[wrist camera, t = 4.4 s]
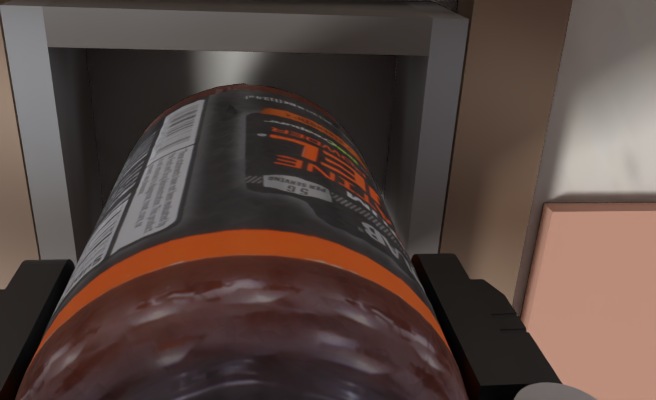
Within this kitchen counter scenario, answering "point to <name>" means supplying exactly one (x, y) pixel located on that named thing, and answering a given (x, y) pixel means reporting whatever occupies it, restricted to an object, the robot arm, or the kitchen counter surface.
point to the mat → (596, 297)
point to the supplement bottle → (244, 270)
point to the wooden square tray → (299, 37)
